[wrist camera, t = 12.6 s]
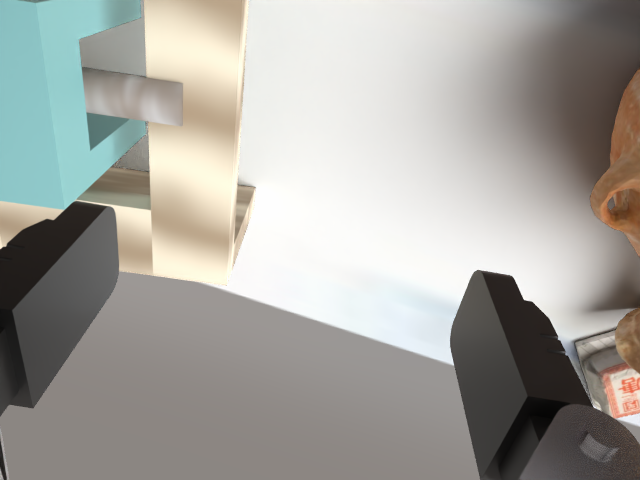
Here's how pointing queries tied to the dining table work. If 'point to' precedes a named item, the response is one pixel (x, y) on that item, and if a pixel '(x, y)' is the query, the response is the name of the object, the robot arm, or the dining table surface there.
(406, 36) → the dining table surface
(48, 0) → the teal arch block
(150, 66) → the shelf
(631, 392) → the packaged product
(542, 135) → the dining table surface
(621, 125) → the orange-brown rounded sculpted piece
